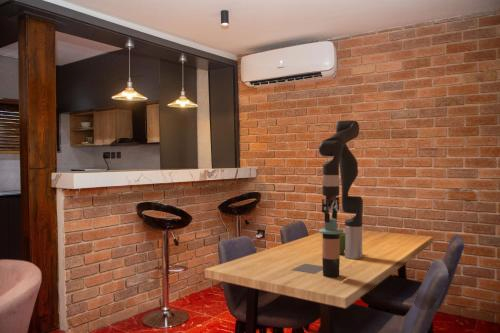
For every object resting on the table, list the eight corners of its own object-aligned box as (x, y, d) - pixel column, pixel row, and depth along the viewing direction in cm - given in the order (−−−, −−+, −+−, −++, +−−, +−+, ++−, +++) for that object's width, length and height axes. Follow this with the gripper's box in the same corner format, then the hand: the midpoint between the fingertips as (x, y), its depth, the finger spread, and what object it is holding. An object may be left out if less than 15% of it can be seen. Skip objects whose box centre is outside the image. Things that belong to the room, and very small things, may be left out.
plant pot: (348, 256, 225) (348, 235, 225) (327, 255, 228) (326, 235, 228) (348, 251, 237) (348, 232, 237) (327, 250, 239) (327, 231, 239)
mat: (304, 264, 206) (304, 263, 206) (327, 268, 199) (327, 266, 199) (290, 271, 193) (290, 269, 193) (314, 275, 186) (314, 273, 186)
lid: (324, 229, 191) (324, 216, 191) (347, 231, 185) (347, 218, 185) (314, 232, 182) (314, 219, 182) (337, 235, 176) (337, 221, 176)
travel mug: (337, 274, 188) (337, 230, 188) (341, 279, 180) (341, 233, 180) (320, 274, 187) (320, 231, 187) (324, 279, 180) (324, 233, 180)
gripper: (329, 184, 191) (329, 218, 192) (316, 185, 180) (316, 222, 180) (344, 184, 187) (344, 220, 187) (332, 186, 175) (332, 223, 176)
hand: (330, 221), depth 184 cm, fingers open, 8 cm apart
